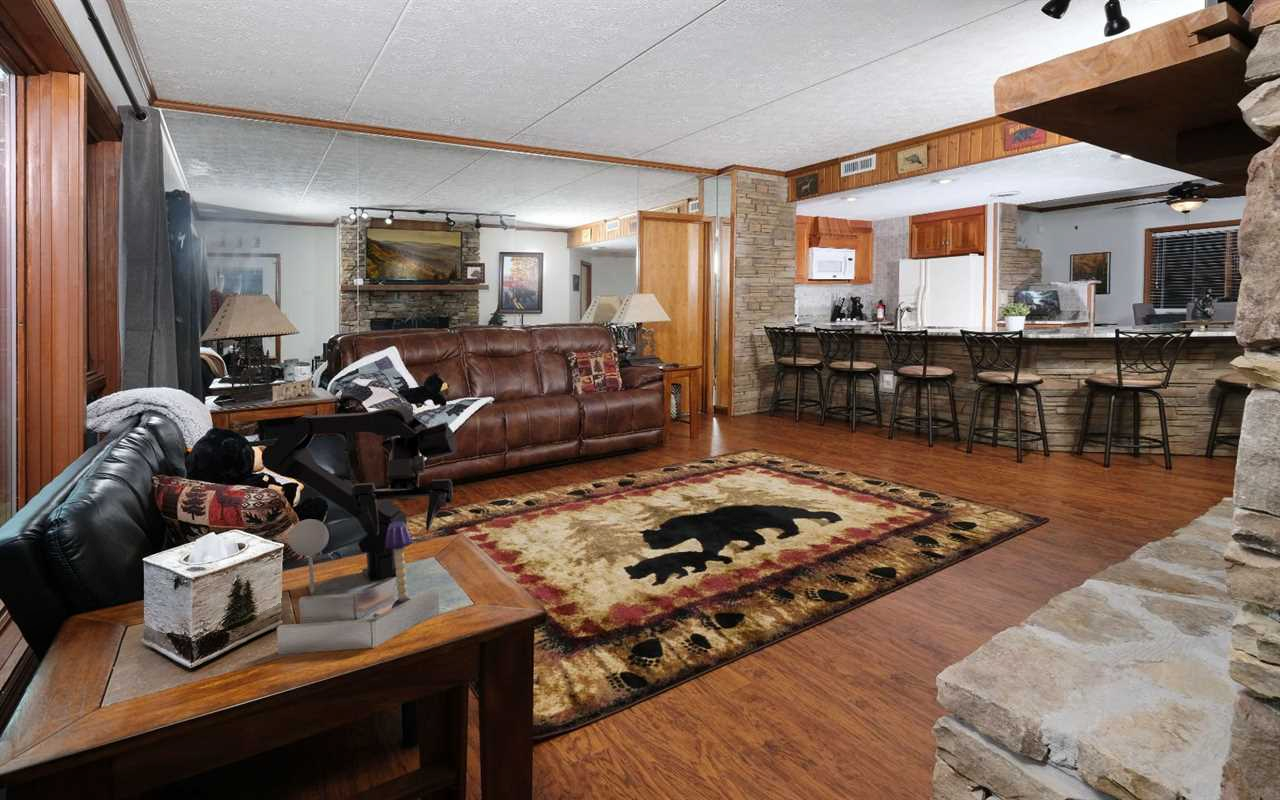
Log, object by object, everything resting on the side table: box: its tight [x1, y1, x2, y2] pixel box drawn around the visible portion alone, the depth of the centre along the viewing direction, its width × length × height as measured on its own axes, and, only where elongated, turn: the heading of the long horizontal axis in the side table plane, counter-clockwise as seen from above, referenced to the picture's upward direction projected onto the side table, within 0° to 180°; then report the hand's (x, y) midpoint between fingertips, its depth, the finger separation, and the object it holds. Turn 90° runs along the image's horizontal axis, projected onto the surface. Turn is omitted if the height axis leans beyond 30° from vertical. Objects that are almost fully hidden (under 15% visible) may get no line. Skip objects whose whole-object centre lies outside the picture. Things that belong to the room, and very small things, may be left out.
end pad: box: [373, 603, 393, 617], centre depth 128 cm, size 7×7×1 cm
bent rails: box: [276, 576, 440, 655], centre depth 121 cm, size 18×27×4 cm, turn 126°
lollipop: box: [288, 518, 330, 594], centre depth 135 cm, size 7×7×15 cm
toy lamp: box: [385, 522, 412, 608], centre depth 127 cm, size 5×5×17 cm
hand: (402, 532), depth 132 cm, fingers open, 9 cm apart
